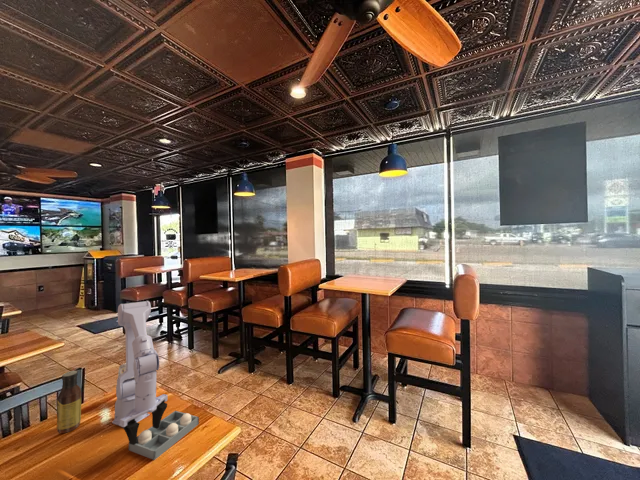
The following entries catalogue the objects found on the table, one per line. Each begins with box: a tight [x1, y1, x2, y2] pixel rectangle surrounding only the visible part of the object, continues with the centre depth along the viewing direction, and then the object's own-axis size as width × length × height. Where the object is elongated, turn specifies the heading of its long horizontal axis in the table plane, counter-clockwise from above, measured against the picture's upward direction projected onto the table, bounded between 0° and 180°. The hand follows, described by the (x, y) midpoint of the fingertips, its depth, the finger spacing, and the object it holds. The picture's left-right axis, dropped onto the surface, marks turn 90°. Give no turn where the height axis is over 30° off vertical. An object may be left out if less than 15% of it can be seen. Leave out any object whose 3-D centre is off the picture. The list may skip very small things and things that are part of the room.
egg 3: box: [180, 412, 192, 426], centre depth 91 cm, size 4×4×5 cm
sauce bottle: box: [56, 370, 82, 434], centre depth 92 cm, size 6×6×20 cm
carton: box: [128, 410, 200, 461], centre depth 87 cm, size 12×17×3 cm
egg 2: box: [166, 423, 178, 437], centre depth 86 cm, size 4×4×5 cm
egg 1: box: [138, 429, 152, 446], centre depth 83 cm, size 4×4×5 cm
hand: (144, 435), depth 83 cm, fingers open, 7 cm apart
